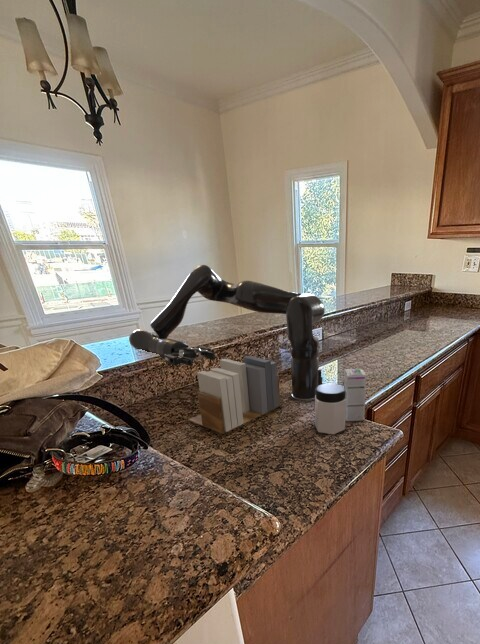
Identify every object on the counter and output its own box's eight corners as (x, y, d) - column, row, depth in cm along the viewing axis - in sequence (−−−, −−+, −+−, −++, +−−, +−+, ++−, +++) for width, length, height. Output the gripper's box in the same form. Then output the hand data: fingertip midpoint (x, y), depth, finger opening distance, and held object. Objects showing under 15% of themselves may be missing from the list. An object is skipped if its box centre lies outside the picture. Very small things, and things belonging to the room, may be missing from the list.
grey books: (258, 399, 116) (254, 353, 110) (278, 406, 112) (276, 358, 105) (241, 407, 111) (236, 359, 104) (262, 414, 106) (258, 364, 99)
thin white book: (229, 403, 113) (224, 358, 107) (249, 410, 109) (245, 363, 102) (225, 405, 112) (219, 359, 105) (245, 412, 107) (240, 365, 101)
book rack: (248, 396, 121) (245, 366, 116) (281, 407, 113) (280, 375, 108) (188, 421, 103) (182, 387, 98) (222, 436, 95) (218, 399, 91)
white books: (222, 415, 105) (216, 366, 99) (243, 423, 101) (238, 372, 94) (204, 423, 100) (196, 372, 94) (226, 432, 96) (219, 379, 89)
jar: (347, 433, 98) (349, 393, 92) (319, 436, 96) (319, 395, 91) (339, 419, 105) (341, 381, 100) (313, 421, 104) (312, 383, 99)
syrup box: (364, 420, 105) (367, 374, 99) (345, 421, 104) (346, 374, 98) (361, 412, 110) (363, 368, 104) (342, 413, 109) (344, 368, 103)
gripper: (150, 343, 113) (181, 352, 104) (188, 336, 123) (219, 343, 115) (155, 366, 116) (185, 376, 108) (191, 356, 127) (222, 365, 118)
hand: (203, 359), depth 111 cm, fingers open, 8 cm apart
